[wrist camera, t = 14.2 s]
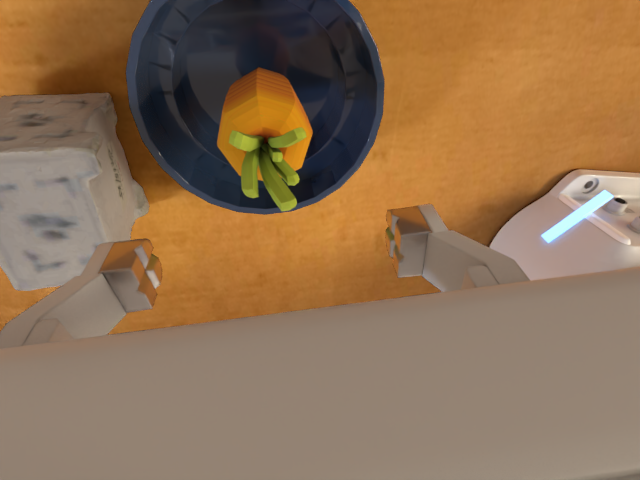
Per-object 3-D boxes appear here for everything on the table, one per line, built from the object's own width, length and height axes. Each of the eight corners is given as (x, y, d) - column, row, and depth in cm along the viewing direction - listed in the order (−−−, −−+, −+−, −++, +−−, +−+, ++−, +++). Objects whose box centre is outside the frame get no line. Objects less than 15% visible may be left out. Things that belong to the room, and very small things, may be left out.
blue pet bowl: (325, -91, 22) (346, -102, 17) (380, 135, 31) (403, 171, 26) (103, 8, 24) (61, 25, 18) (218, 195, 33) (211, 240, 28)
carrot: (220, 48, 25) (187, 135, 14) (293, 40, 25) (322, 119, 14) (236, 119, 28) (220, 240, 17) (300, 112, 29) (329, 225, 17)
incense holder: (164, 205, 33) (133, 290, 25) (61, 206, 32) (-7, 296, 23) (138, 90, 27) (86, 152, 19) (9, 86, 25) (-106, 151, 17)
